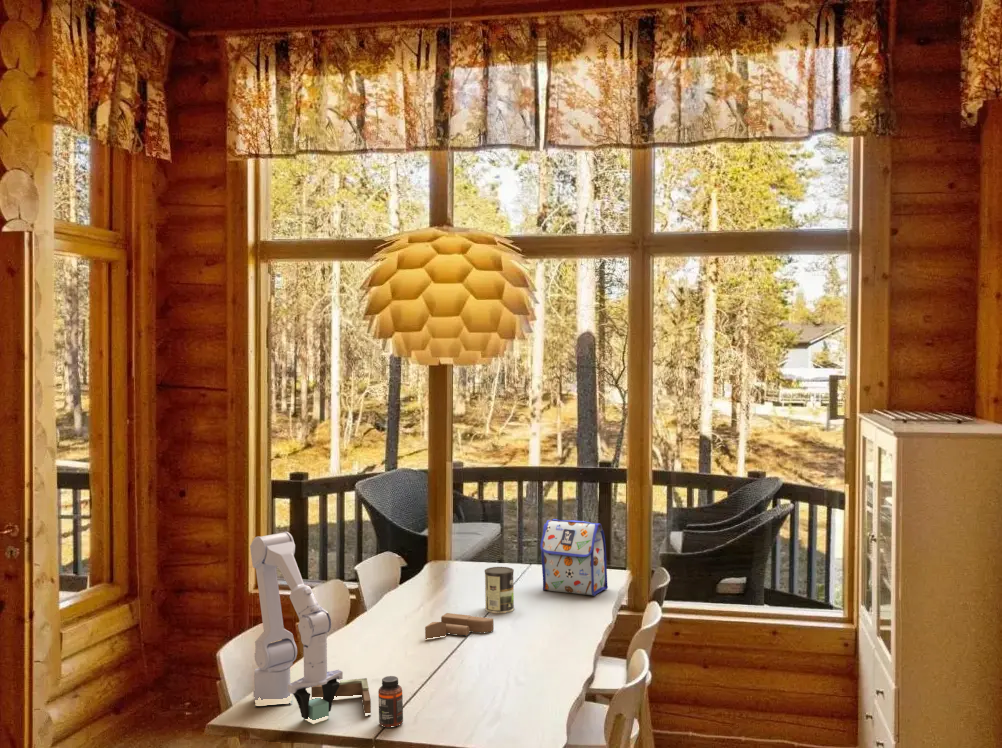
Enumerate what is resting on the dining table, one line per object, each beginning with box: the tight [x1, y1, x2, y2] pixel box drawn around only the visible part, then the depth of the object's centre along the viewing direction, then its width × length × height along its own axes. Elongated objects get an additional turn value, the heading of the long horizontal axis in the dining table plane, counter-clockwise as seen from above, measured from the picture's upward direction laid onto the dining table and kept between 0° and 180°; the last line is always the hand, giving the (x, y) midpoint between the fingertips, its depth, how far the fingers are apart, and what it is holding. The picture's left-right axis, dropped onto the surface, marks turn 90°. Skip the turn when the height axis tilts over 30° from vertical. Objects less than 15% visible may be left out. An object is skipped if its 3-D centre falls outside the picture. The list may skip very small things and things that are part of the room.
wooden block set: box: [424, 612, 494, 640], centre depth 292 cm, size 17×6×18 cm
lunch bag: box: [539, 518, 609, 597], centre depth 344 cm, size 23×17×27 cm
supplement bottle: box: [377, 675, 404, 728], centre depth 224 cm, size 6×6×11 cm
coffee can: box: [484, 566, 515, 614], centre depth 321 cm, size 10×10×14 cm
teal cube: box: [308, 698, 330, 720], centre depth 227 cm, size 4×4×4 cm
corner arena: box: [310, 677, 372, 714], centre depth 234 cm, size 14×14×5 cm
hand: (316, 713), depth 227 cm, fingers open, 6 cm apart
